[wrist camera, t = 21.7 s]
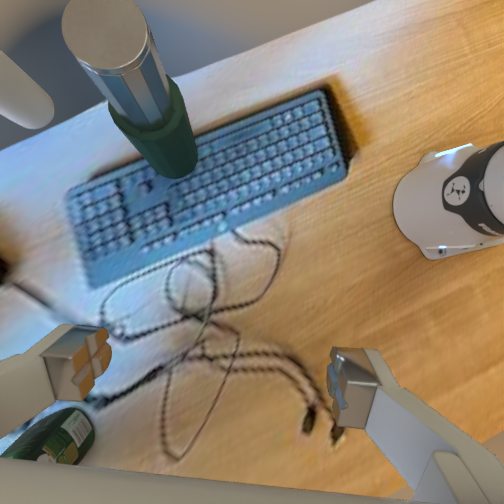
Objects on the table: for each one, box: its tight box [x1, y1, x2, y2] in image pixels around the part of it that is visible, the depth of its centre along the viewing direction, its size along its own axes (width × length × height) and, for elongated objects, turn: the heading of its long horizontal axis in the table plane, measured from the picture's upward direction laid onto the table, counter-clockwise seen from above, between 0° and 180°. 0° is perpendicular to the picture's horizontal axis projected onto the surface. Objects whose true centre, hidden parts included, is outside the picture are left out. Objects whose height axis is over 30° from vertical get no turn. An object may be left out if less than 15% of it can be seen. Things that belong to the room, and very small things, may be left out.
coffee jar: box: [0, 408, 94, 465], centre depth 29 cm, size 10×8×19 cm
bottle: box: [108, 74, 198, 179], centre depth 31 cm, size 8×8×18 cm
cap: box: [62, 0, 174, 131], centre depth 22 cm, size 6×6×9 cm
